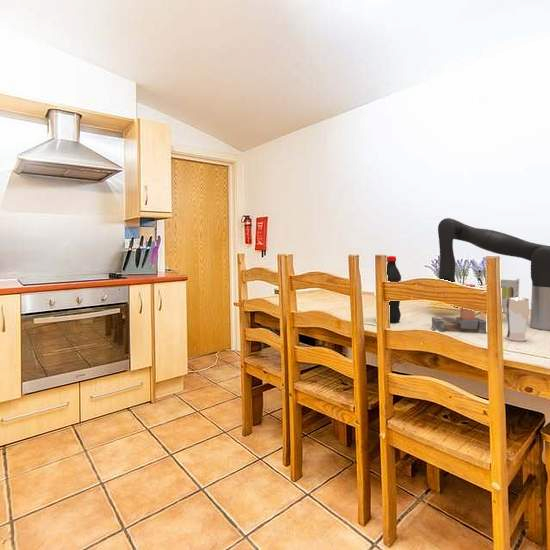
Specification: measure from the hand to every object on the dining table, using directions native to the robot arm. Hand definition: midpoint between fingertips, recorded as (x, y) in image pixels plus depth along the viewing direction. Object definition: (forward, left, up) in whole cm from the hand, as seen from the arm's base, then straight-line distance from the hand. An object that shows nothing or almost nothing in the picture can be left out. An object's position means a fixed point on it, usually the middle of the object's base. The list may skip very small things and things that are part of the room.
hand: (469, 304), depth 140 cm
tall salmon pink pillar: (+1, -3, -10) cm, 10 cm away
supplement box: (-14, -53, -11) cm, 56 cm away
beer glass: (-15, +3, -11) cm, 19 cm away
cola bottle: (+32, -7, -11) cm, 34 cm away
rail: (+4, -2, -11) cm, 12 cm away
